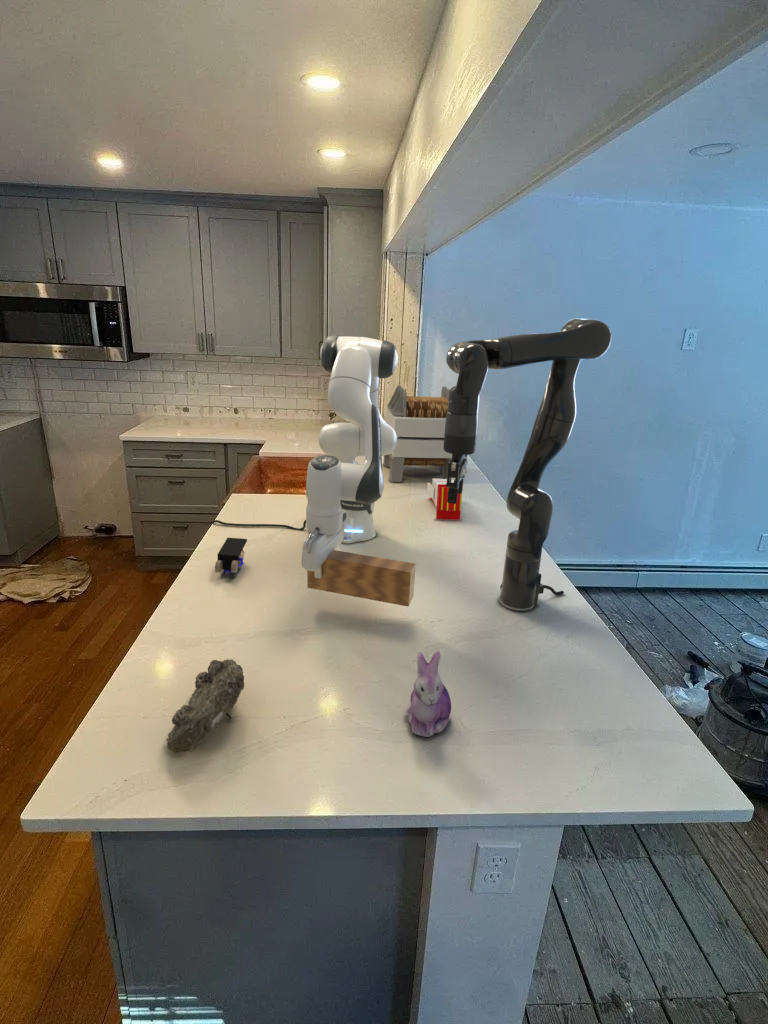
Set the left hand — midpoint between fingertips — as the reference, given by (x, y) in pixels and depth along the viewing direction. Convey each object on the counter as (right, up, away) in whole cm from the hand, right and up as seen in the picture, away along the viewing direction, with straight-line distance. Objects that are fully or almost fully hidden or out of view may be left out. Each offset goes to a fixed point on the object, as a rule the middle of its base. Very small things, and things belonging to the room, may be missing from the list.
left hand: (323, 571), depth 146 cm
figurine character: (-29, -2, +22) cm, 37 cm away
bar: (+9, -5, -1) cm, 11 cm away
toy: (+39, +17, +82) cm, 92 cm away
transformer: (+33, +34, +129) cm, 138 cm away
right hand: (+33, +19, -8) cm, 39 cm away
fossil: (-17, -24, -38) cm, 48 cm away
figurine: (+24, -25, -37) cm, 51 cm away
